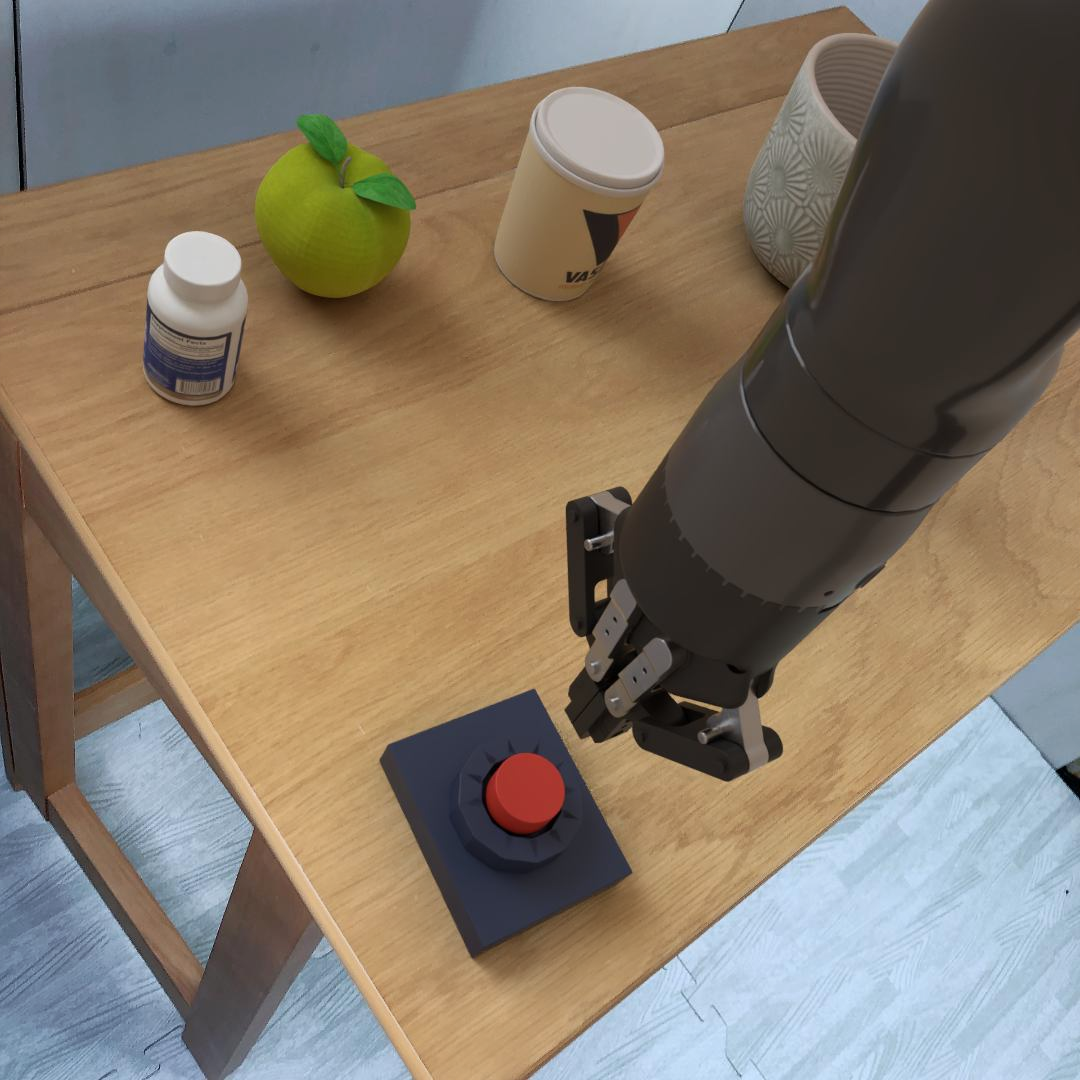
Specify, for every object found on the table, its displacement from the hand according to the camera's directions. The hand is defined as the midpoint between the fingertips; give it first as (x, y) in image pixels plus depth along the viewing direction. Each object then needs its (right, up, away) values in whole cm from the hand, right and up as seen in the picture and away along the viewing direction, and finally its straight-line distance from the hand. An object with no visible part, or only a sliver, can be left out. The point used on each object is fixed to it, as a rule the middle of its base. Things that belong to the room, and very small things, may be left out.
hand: (590, 719), depth 51 cm
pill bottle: (-23, +18, +19) cm, 35 cm away
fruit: (-17, +25, +26) cm, 40 cm away
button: (-3, -5, +7) cm, 9 cm away
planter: (+20, +31, +45) cm, 58 cm away
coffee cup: (-2, +28, +34) cm, 44 cm away
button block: (-4, -7, +10) cm, 13 cm away
